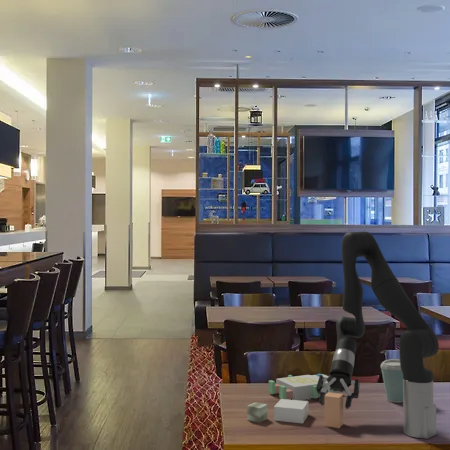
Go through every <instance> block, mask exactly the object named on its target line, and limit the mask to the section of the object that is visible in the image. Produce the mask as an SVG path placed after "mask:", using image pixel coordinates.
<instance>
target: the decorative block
mask: <svg viewBox="0 0 450 450" xmlns="http://www.w3.org/2000/svg"><path fill="white" fill-rule="evenodd" d="M320 375H322V376H323V377H326V378H328V377H329V375H327V374H322V373H317V374H313V375H310V374H304V375H296V376H293V375H292V374H288V375H287V376H286V377H279V378H276V379H275V380H272V379H271V380H268V394H271V395H275V394H279V395H278V397H279V399H289V400H291V399H292V400H299V401H307V400H312V399H311V398H314V399H318V397H320V394H318V393H317V390H316V387H317V383H318V380H319V377H320ZM327 383H328V381H326V382H325V384H323V387H322V389H323V388H324V387H325V385H326V384H327ZM329 388H330V387H329ZM331 393H339V394H340V391H333V390H332V391H331ZM306 399H307V400H306Z"/></svg>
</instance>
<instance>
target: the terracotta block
mask: <svg viewBox="0 0 450 450" xmlns="http://www.w3.org/2000/svg"><path fill="white" fill-rule="evenodd" d="M343 425H344V394H343V393H340V392H339V393H331V392H328V393H327V394H326V395H325V401H324V427H328V428H336V429H341V427H342V426H343Z"/></svg>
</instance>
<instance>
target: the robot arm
mask: <svg viewBox="0 0 450 450" xmlns="http://www.w3.org/2000/svg"><path fill="white" fill-rule="evenodd" d="M341 257H342V258H341V259H342V269H343V270H342V271H343V272H342V273H343V297H342V309H343V311H344V312H347V313H348V314H350V315H353V316H354V317H350V316H340V317H338V318H337V320H336V323H335V324H336V325H335V327H336V329H335V330H336V335H337V337H336V339H337V341H336V347H335V350H334V351H335V352H334V353H333V357H332V362H331V366H330V369H329V370H330V371H329V375H328V376H329V377H328V378H326V377H323V376H322V375H320V377H319V380H318V383H317V387H316V390H317V393H318V394H320V398H319V399H318V401H319V404H320V406H325V395H326V394H327V393H328V392H331V391H332V390H333V391H339V393H343V392H345V394H346V400H345V404H344V405H345V406H344V407H345V409H346V410H349V408H351V406H352V402H353V401H352V400H353V399H359V396H360V395H359V394H360V386H361V384H360V381H359V379H358V378H356V379H355V380H352V376H353V371H354V367H355V356H356V352H357V347H358V346H357V341H356V340H355V339H354V338H356V339H359V338H362V337H363V336H364V334H365V333H366V324H365V320H364V316H363V298H364V289H363V288H364V287H363V284H362V283H361V280H360V278H359V275H358V272H357V268H356V263H357V258H361V257H362V258H364V259H365V260H366V262H367V263H368V265H369V267H370V269H371V276H370V279H371V281H370V285H371V290H372V292H373V294H374V295H375V296H376V297H375V298H376V299H377V300H378V302H379V304H380V305H381V307H382V308H384V309H385V310H386V311H387V312H388V313H390V314H391V315H393V317H395V318H396V319H398V320H399V321H400V322H401V323H402V325H404V327H405V328H406V330H405V331H403V332H402V333H401V335H400V338H399V344H398V347H399V349H398V350H399V351H398V352H399V359H400V366H401V370H402V373H403V402H402V409H403V411H402V412H403V413H402V415H403V416H402V419H403V421H402V423H403V425H402V426H403V433H404V434H405V435H407V436H408V437H412V438H418V439H426V440H428V439H430V438H432V437H434V436H436V435H437V404H436V403H434V373H433V370H431V369H429V368H426V367H425V366H424V359H425V358H431V357H434V356H435V355H437V354H438V352H439V349H440V348H439V347H440V345H439V340H438V338H437V335H436V334H435V332H434V331H433V329H432V328H431V327H430V325H429V324H428V322H427V321H426V320H425V319H424V318H423V317H422V315H421V314H420V313H419V311H418V310H417V308H416V307H415V305H414V303H413V302H412V301H411V299H410V298H409V295H408V294H407V293H406V292H405V289H404V288H403V286H402V284H401V283H400V281H399V279H397V277H396V275H395V273H394V272H393V270H392V269H391V267H390V265H389V264H388V262H387V260H386V259H385V257H384V254H383V252H382V251H381V249H380V247H379V244H378V242H377V240H376V238H375V237H374V235H373V234H372V233H370V232H368V231H350V232H347V233H345V234H344V235H343V237H342V240H341ZM326 381H328V383H327V384H326V385H325V387H324V388H323V389H322V387H323V384H325V382H326ZM351 386H353V392H351V390H350V389H349V387H351ZM329 387H330V388H329Z"/></svg>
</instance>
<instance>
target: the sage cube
mask: <svg viewBox="0 0 450 450" xmlns="http://www.w3.org/2000/svg"><path fill="white" fill-rule="evenodd" d="M246 408H247V409H246V410H247V412H246V413H247V416H246V418H247V421H249V422H255V423H263V422H264V421H266V420H268V404H267V403H261V402H253V403H251V404H248V405H247V407H246Z"/></svg>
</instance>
